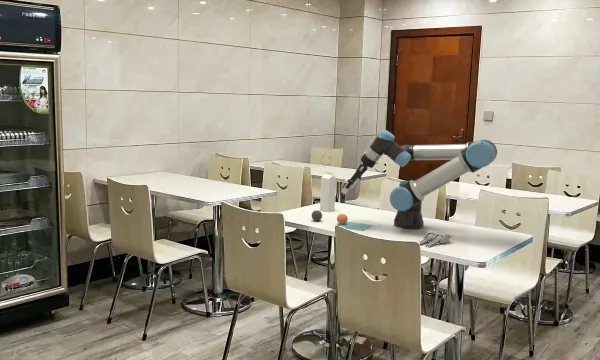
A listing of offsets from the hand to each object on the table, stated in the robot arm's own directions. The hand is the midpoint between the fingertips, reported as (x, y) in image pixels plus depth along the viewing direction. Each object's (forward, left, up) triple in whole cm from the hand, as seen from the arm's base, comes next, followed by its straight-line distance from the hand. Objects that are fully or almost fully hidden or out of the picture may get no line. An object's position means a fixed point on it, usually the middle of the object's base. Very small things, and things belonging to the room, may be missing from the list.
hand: (346, 190), depth 300 cm
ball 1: (+14, +3, -14) cm, 21 cm away
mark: (-7, +3, -17) cm, 19 cm away
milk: (+20, -26, -17) cm, 37 cm away
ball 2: (0, +3, -14) cm, 15 cm away
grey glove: (-49, +15, -18) cm, 54 cm away
